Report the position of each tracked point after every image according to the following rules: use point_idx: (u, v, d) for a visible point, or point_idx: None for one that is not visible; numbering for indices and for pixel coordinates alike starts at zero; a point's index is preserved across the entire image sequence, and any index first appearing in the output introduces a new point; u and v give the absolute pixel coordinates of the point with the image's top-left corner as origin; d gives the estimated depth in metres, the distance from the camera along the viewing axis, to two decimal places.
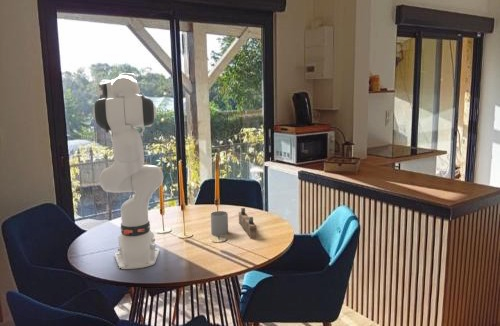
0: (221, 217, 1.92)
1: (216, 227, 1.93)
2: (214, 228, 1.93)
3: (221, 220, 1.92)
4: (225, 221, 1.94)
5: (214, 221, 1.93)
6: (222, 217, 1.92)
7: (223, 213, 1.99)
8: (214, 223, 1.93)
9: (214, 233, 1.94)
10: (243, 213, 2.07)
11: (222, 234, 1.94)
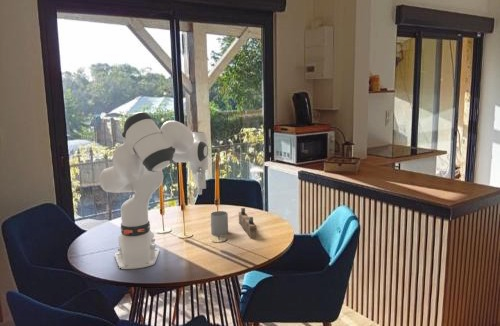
0: (221, 217, 1.92)
1: (216, 227, 1.93)
2: (214, 228, 1.93)
3: (221, 220, 1.92)
4: (225, 221, 1.94)
5: (214, 221, 1.93)
6: (222, 217, 1.92)
7: (223, 213, 1.99)
8: (214, 223, 1.93)
9: (214, 233, 1.94)
10: (243, 213, 2.07)
11: (222, 234, 1.94)
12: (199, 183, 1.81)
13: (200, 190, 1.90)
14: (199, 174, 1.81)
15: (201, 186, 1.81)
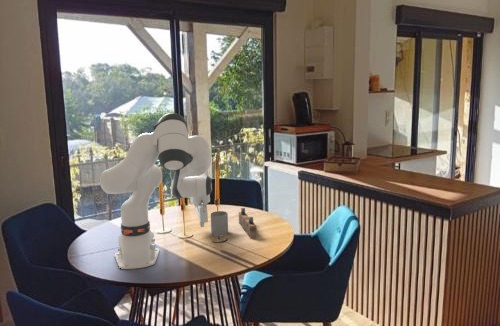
0: (221, 217, 1.92)
1: (216, 227, 1.93)
2: (214, 228, 1.93)
3: (221, 220, 1.92)
4: (225, 221, 1.94)
5: (214, 221, 1.93)
6: (222, 217, 1.92)
7: (223, 213, 1.99)
8: (214, 223, 1.93)
9: (214, 233, 1.94)
10: (243, 213, 2.07)
11: (222, 234, 1.94)
12: (201, 217, 1.83)
13: (202, 223, 1.92)
14: (201, 208, 1.83)
15: (203, 220, 1.83)
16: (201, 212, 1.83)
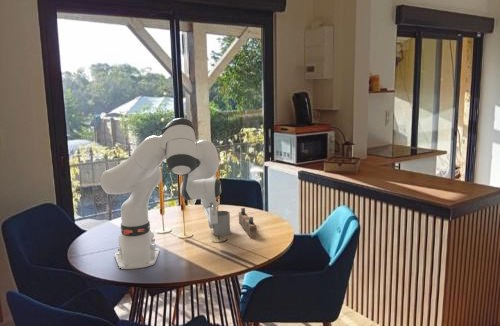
0: (223, 217, 1.93)
1: (218, 226, 1.93)
2: (216, 227, 1.94)
3: (223, 220, 1.93)
4: (227, 221, 1.94)
5: None
6: (224, 216, 1.93)
7: (225, 213, 2.00)
8: None
9: (216, 232, 1.94)
10: (243, 213, 2.07)
11: (224, 234, 1.94)
12: (211, 219, 1.85)
13: (212, 224, 1.94)
14: (211, 210, 1.85)
15: (213, 222, 1.85)
16: (211, 214, 1.85)
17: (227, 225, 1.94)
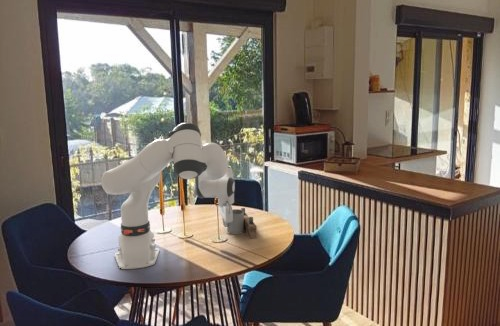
0: (237, 215, 1.94)
1: (232, 225, 1.95)
2: (230, 226, 1.96)
3: (237, 218, 1.95)
4: (241, 219, 1.96)
5: None
6: (239, 215, 1.95)
7: (239, 211, 2.02)
8: None
9: (230, 231, 1.96)
10: None
11: (238, 232, 1.96)
12: (226, 217, 1.87)
13: (226, 223, 1.96)
14: (226, 209, 1.87)
15: (228, 220, 1.87)
16: (227, 213, 1.87)
17: (241, 224, 1.96)
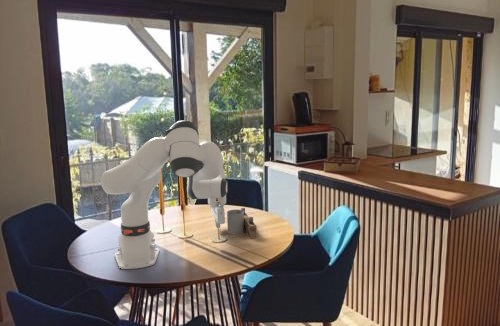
0: (237, 215, 1.94)
1: (232, 225, 1.95)
2: (230, 226, 1.96)
3: (237, 218, 1.95)
4: (241, 219, 1.96)
5: (230, 219, 1.95)
6: (238, 215, 1.95)
7: (239, 211, 2.02)
8: (230, 221, 1.95)
9: (230, 231, 1.96)
10: None
11: (238, 232, 1.96)
12: (218, 218, 1.86)
13: (219, 224, 1.95)
14: (218, 209, 1.86)
15: (220, 221, 1.86)
16: (219, 213, 1.86)
17: (241, 224, 1.96)
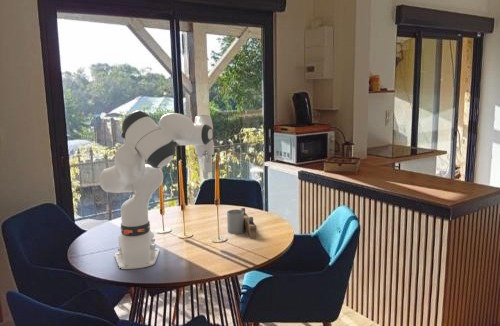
0: (237, 215, 1.94)
1: (232, 225, 1.95)
2: (230, 226, 1.96)
3: (237, 218, 1.95)
4: (241, 219, 1.96)
5: (230, 219, 1.95)
6: (238, 215, 1.95)
7: (239, 211, 2.02)
8: (230, 221, 1.95)
9: (230, 231, 1.96)
10: None
11: (238, 232, 1.96)
12: (205, 166, 1.80)
13: (206, 175, 1.89)
14: (205, 157, 1.80)
15: (207, 169, 1.81)
16: (205, 161, 1.80)
17: (241, 224, 1.96)
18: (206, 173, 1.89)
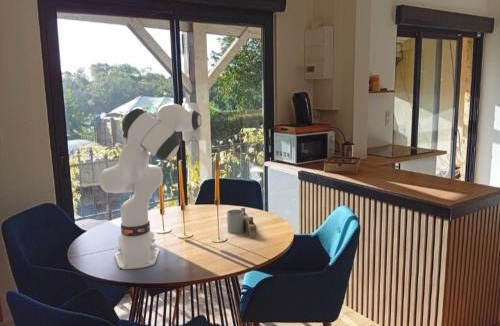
0: (237, 215, 1.94)
1: (232, 225, 1.95)
2: (230, 226, 1.96)
3: (237, 218, 1.95)
4: (241, 219, 1.96)
5: (230, 219, 1.95)
6: (238, 215, 1.95)
7: (239, 211, 2.02)
8: (230, 221, 1.95)
9: (230, 231, 1.96)
10: None
11: (238, 232, 1.96)
12: (192, 152, 1.83)
13: (194, 161, 1.92)
14: (192, 143, 1.83)
15: (194, 155, 1.83)
16: (192, 147, 1.83)
17: (241, 224, 1.96)
18: (193, 159, 1.91)
